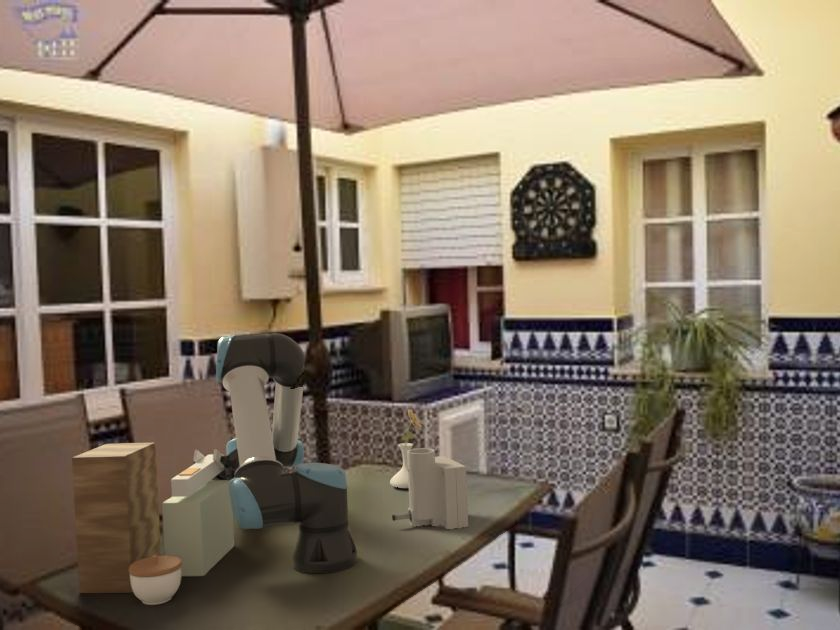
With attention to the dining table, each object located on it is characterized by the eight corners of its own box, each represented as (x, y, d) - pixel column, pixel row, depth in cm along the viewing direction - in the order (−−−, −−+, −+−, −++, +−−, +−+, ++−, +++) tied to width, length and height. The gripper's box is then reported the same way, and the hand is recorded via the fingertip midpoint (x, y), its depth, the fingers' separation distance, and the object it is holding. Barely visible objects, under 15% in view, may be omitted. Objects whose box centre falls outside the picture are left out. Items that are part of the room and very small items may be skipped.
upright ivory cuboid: (200, 546, 210) (196, 480, 209) (234, 545, 209) (230, 480, 208) (165, 576, 188) (162, 503, 187) (203, 575, 187) (199, 502, 186)
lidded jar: (153, 612, 166) (151, 567, 166) (119, 604, 172) (117, 559, 171) (194, 595, 175) (191, 551, 175) (160, 587, 181) (158, 545, 180)
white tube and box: (469, 526, 217) (466, 452, 216) (403, 536, 210) (399, 459, 210) (446, 512, 232) (443, 442, 232) (384, 521, 226) (381, 449, 225)
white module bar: (209, 469, 212) (208, 453, 211) (224, 469, 211) (223, 453, 211) (171, 496, 187) (170, 478, 186) (188, 496, 186) (187, 477, 186)
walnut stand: (110, 568, 195) (104, 443, 194) (161, 567, 194) (155, 442, 193) (76, 593, 179) (69, 457, 178) (132, 592, 178) (124, 456, 177)
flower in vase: (412, 492, 256) (408, 413, 256) (383, 489, 263) (379, 412, 262) (434, 483, 267) (431, 407, 267) (405, 480, 274) (402, 406, 273)
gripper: (262, 494, 221) (237, 468, 201) (200, 496, 223) (169, 470, 202) (265, 468, 225) (240, 439, 204) (204, 469, 226) (173, 441, 206)
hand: (205, 454), depth 203 cm, fingers open, 4 cm apart
